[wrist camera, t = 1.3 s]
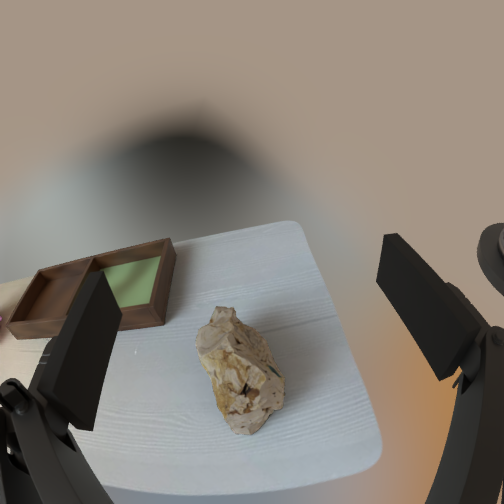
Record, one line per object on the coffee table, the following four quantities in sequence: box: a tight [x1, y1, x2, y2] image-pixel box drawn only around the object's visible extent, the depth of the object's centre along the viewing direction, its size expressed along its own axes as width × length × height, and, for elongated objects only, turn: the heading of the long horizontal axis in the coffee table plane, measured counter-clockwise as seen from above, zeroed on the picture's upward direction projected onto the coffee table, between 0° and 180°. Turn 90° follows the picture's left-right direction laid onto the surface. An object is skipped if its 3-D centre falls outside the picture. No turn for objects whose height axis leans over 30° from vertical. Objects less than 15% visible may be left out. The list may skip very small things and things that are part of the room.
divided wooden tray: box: [6, 238, 176, 340], centre depth 44 cm, size 32×17×4 cm, turn 95°
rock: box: [196, 306, 285, 435], centre depth 27 cm, size 12×7×10 cm, turn 10°
